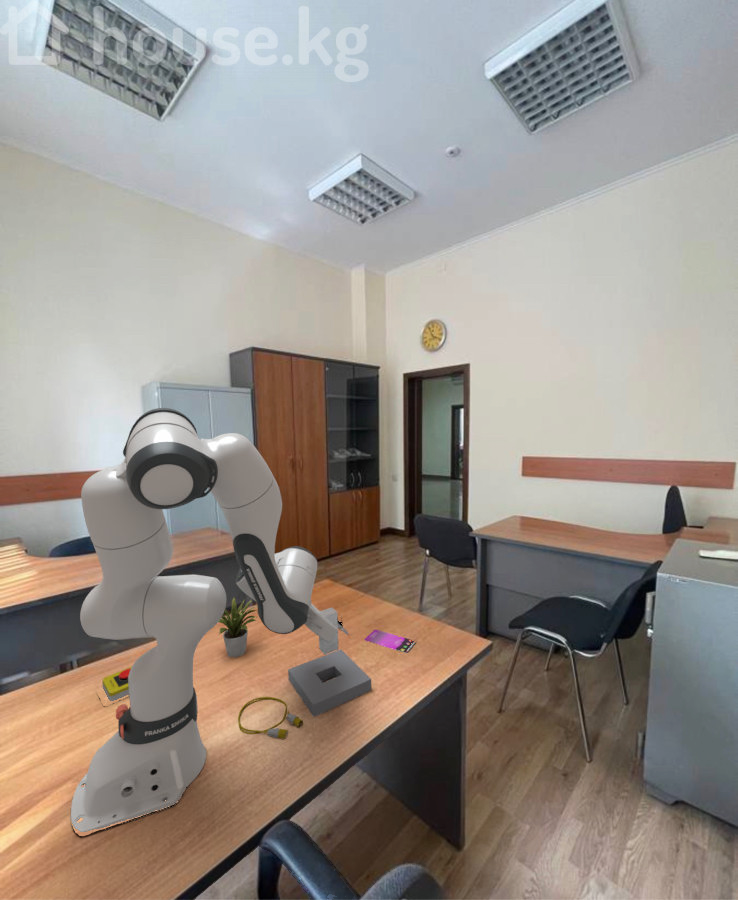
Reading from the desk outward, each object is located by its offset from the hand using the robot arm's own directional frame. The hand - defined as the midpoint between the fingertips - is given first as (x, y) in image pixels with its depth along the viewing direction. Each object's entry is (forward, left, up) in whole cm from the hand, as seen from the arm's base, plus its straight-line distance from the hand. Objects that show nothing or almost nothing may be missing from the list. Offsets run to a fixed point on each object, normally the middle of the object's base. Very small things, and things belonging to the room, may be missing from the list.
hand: (330, 628), depth 101 cm
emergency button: (-44, +31, -16) cm, 56 cm away
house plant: (-18, +29, -15) cm, 37 cm away
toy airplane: (+15, +29, -16) cm, 37 cm away
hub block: (-1, +1, -15) cm, 15 cm away
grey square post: (-1, 0, -5) cm, 5 cm away
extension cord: (-18, -2, -16) cm, 24 cm away
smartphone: (+24, +8, -16) cm, 30 cm away
